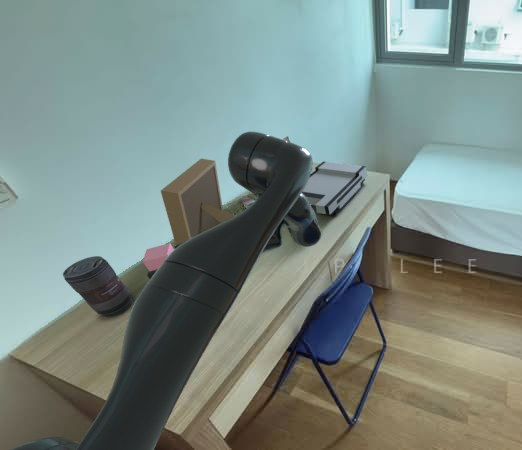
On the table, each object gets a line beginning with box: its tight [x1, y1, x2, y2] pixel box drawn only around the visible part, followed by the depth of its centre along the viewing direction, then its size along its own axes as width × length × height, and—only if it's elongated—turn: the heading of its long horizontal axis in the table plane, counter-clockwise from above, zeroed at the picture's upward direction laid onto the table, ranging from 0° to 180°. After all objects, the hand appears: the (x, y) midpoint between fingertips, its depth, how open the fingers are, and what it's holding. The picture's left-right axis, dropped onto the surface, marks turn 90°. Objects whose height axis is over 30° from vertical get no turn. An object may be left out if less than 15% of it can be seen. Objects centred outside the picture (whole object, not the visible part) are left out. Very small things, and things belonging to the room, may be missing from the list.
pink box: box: [142, 242, 175, 272], centre depth 69 cm, size 4×4×10 cm
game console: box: [302, 161, 368, 217], centre depth 124 cm, size 21×32×8 cm, turn 161°
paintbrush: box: [238, 196, 256, 209], centre depth 121 cm, size 4×3×20 cm
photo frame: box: [160, 158, 237, 246], centre depth 99 cm, size 15×22×25 cm
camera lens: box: [62, 255, 134, 318], centre depth 78 cm, size 8×8×15 cm
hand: (151, 269), depth 67 cm, fingers closed on pink box, 4 cm apart
